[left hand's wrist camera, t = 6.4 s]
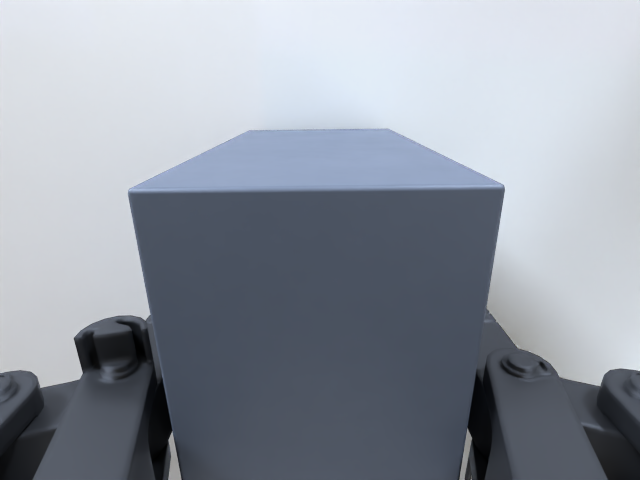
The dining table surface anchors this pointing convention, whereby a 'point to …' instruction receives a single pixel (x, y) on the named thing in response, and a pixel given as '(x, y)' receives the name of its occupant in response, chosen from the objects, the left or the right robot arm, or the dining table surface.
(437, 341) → the beam
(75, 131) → the dining table surface
